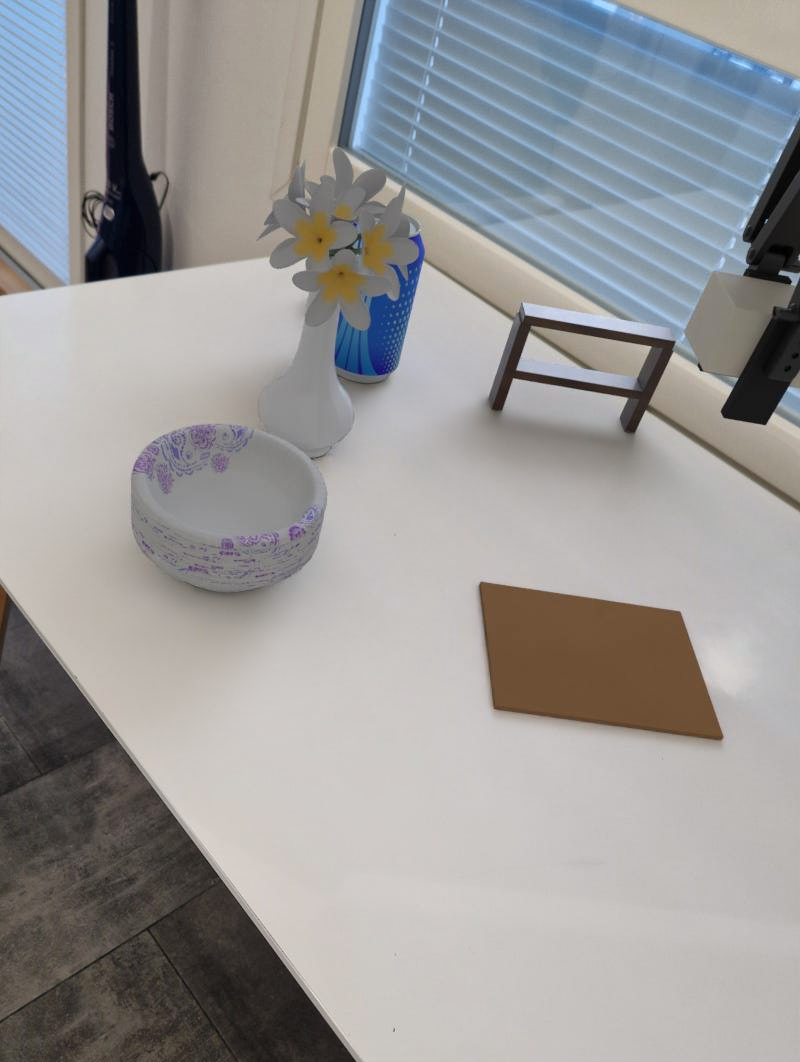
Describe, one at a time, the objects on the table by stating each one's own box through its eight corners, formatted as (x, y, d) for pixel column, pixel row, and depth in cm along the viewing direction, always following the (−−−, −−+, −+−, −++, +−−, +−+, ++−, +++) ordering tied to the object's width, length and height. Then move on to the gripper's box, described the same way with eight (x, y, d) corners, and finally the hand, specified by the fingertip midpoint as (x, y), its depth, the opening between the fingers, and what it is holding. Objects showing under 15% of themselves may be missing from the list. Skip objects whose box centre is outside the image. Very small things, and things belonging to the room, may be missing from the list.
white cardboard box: (788, 350, 57) (822, 290, 54) (814, 391, 54) (853, 328, 51) (683, 332, 57) (712, 269, 54) (703, 371, 53) (736, 307, 50)
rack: (629, 418, 102) (671, 328, 94) (634, 433, 100) (678, 341, 92) (489, 395, 100) (519, 301, 93) (491, 409, 98) (523, 314, 90)
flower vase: (257, 504, 80) (295, 219, 62) (227, 392, 92) (251, 126, 74) (394, 502, 84) (467, 232, 66) (348, 394, 96) (399, 141, 78)
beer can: (341, 339, 104) (367, 196, 93) (407, 365, 102) (442, 222, 91) (309, 368, 98) (333, 219, 87) (378, 395, 96) (412, 247, 85)
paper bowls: (252, 647, 68) (264, 570, 62) (91, 563, 72) (88, 482, 66) (345, 546, 78) (362, 471, 72) (199, 476, 82) (205, 399, 76)
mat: (678, 614, 79) (680, 611, 78) (721, 740, 69) (724, 737, 69) (479, 584, 77) (480, 581, 77) (494, 709, 67) (495, 705, 67)
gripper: (830, -106, 46) (644, 318, 63) (999, -46, 34) (710, 466, 50) (965, -76, 47) (745, 337, 63) (1181, -5, 34) (836, 487, 51)
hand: (730, 393), depth 57 cm, fingers closed on white cardboard box, 5 cm apart
